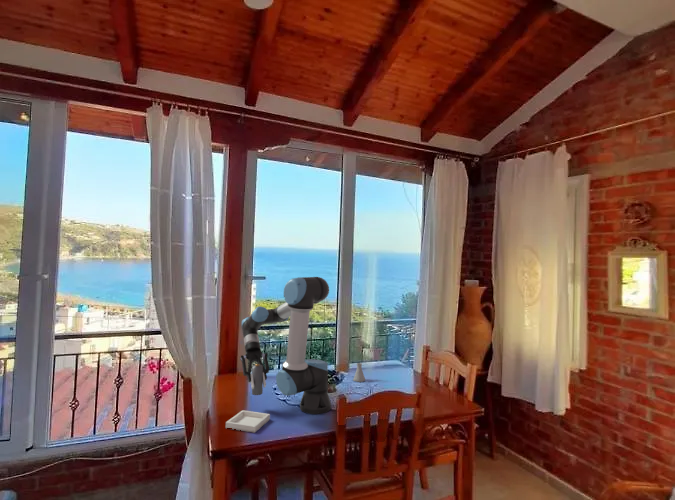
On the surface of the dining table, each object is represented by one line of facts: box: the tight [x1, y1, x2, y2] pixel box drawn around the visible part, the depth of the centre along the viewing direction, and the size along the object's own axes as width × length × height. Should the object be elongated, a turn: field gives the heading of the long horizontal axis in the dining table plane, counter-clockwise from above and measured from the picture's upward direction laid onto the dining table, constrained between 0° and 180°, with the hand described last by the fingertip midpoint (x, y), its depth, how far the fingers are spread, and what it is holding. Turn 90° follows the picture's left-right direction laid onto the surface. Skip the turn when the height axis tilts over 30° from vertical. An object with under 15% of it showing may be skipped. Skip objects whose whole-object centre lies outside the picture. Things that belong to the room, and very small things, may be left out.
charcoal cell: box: [251, 363, 264, 396], centre depth 195 cm, size 5×5×14 cm
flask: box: [352, 362, 366, 383], centre depth 239 cm, size 7×7×10 cm
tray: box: [225, 409, 271, 434], centre depth 178 cm, size 14×14×2 cm
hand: (258, 386), depth 191 cm, fingers closed on charcoal cell, 5 cm apart
